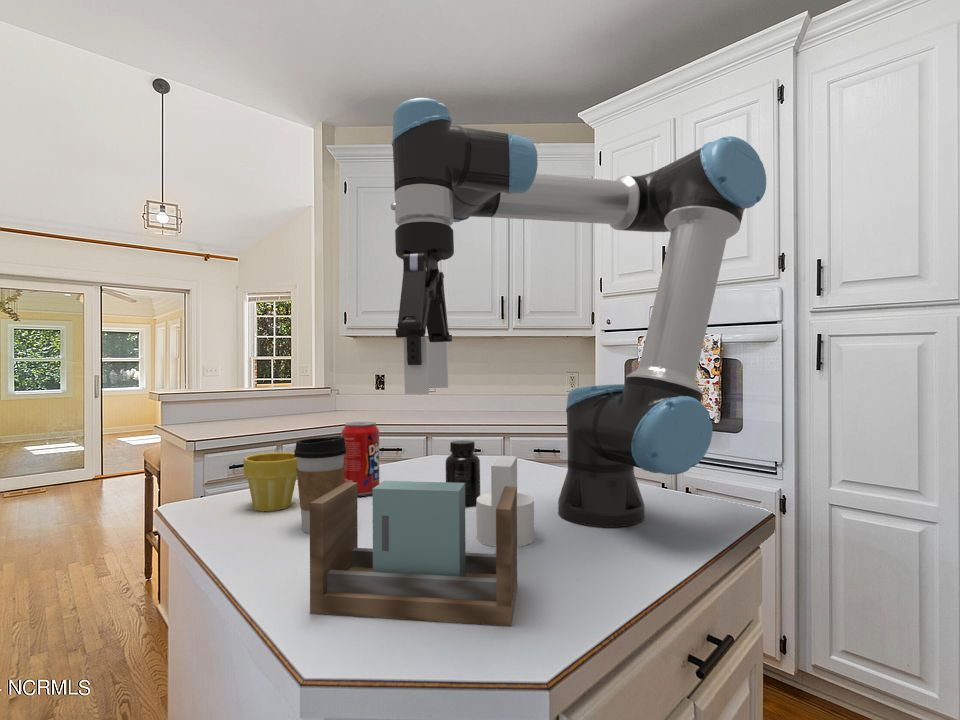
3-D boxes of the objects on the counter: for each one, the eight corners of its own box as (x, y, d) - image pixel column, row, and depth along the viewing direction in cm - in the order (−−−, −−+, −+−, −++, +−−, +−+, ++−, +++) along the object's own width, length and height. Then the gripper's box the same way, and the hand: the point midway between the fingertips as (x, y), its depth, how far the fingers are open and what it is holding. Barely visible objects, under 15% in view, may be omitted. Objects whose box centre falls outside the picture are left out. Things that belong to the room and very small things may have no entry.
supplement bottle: (487, 501, 101) (486, 440, 101) (468, 509, 95) (467, 445, 95) (458, 496, 104) (458, 438, 104) (438, 504, 98) (438, 442, 99)
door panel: (465, 575, 60) (465, 482, 60) (459, 590, 56) (459, 491, 56) (384, 571, 61) (384, 480, 62) (372, 585, 57) (372, 488, 57)
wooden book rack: (517, 584, 62) (516, 486, 62) (511, 626, 52) (510, 509, 52) (346, 575, 65) (346, 482, 65) (310, 613, 55) (309, 503, 55)
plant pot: (312, 503, 100) (312, 453, 100) (271, 517, 91) (271, 462, 91) (274, 497, 104) (274, 450, 105) (231, 510, 95) (231, 458, 95)
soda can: (334, 493, 108) (334, 422, 108) (367, 486, 113) (367, 419, 113) (353, 500, 102) (352, 425, 102) (386, 493, 107) (386, 422, 108)
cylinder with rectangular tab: (531, 549, 74) (531, 467, 74) (471, 545, 76) (471, 465, 76) (535, 529, 83) (535, 456, 83) (481, 527, 85) (481, 455, 85)
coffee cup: (332, 537, 80) (331, 442, 80) (283, 534, 81) (283, 441, 81) (355, 521, 88) (355, 435, 88) (311, 519, 90) (310, 434, 90)
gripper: (417, 249, 78) (420, 386, 78) (364, 197, 54) (370, 398, 53) (465, 247, 78) (469, 385, 78) (434, 193, 53) (440, 396, 53)
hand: (428, 390), depth 65 cm, fingers open, 13 cm apart
